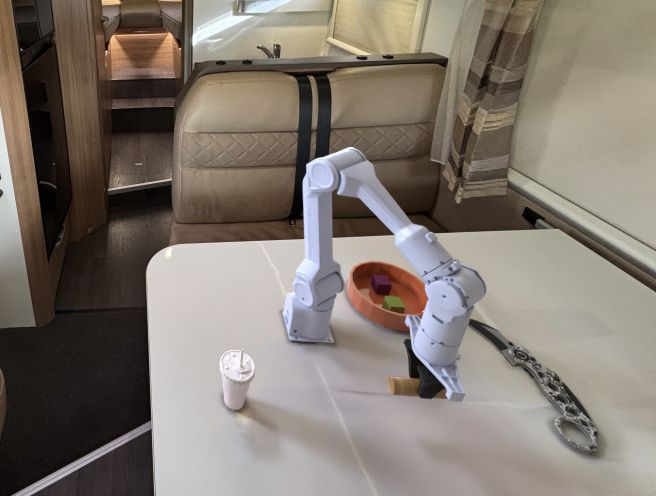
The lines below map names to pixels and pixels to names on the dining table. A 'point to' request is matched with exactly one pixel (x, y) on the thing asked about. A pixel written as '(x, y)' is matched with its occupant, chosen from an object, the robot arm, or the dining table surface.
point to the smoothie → (236, 377)
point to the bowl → (371, 302)
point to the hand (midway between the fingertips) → (420, 387)
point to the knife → (545, 387)
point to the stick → (408, 387)
